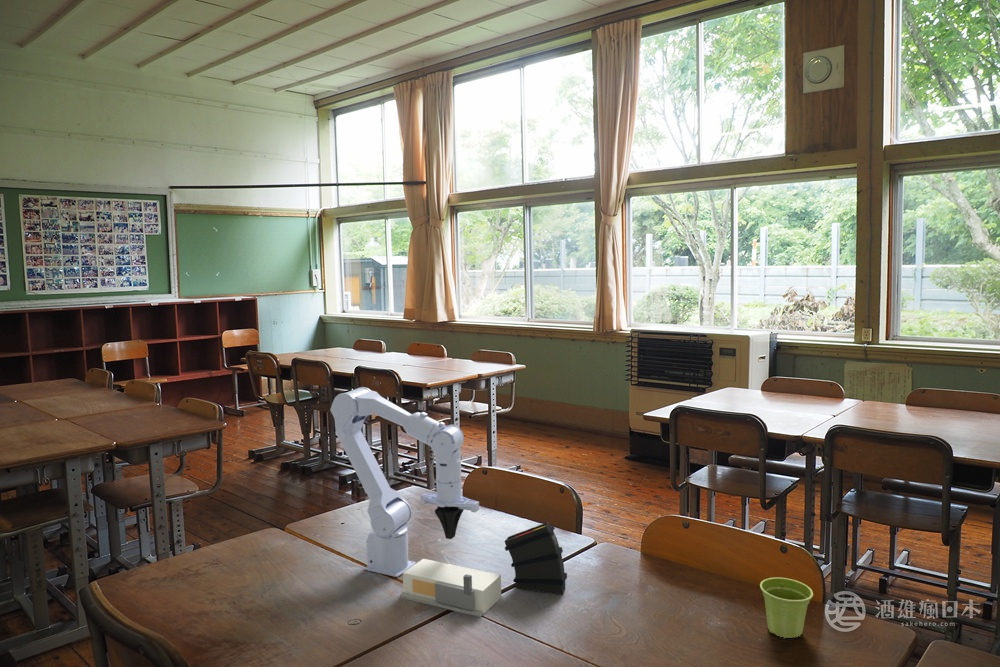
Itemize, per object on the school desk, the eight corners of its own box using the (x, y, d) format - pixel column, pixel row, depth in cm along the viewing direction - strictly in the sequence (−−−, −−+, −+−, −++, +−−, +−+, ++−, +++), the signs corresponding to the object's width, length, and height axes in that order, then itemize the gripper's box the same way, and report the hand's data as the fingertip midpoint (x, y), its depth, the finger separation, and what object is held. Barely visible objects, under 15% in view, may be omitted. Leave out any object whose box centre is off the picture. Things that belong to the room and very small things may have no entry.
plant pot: (806, 621, 136) (807, 579, 135) (816, 647, 127) (818, 602, 126) (756, 616, 138) (756, 575, 137) (763, 642, 129) (764, 597, 128)
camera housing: (399, 597, 149) (399, 575, 149) (423, 579, 157) (423, 558, 157) (480, 617, 140) (479, 593, 139) (501, 597, 148) (500, 575, 148)
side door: (434, 602, 145) (433, 569, 144) (437, 599, 146) (436, 567, 145) (471, 611, 140) (470, 577, 140) (474, 608, 142) (473, 575, 141)
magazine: (576, 590, 147) (546, 526, 148) (524, 607, 151) (495, 545, 152) (580, 583, 150) (551, 520, 151) (529, 600, 155) (501, 539, 156)
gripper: (412, 480, 156) (414, 538, 157) (467, 489, 149) (469, 549, 151) (429, 472, 162) (431, 527, 164) (483, 479, 156) (484, 537, 157)
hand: (450, 537), depth 158 cm, fingers closed
